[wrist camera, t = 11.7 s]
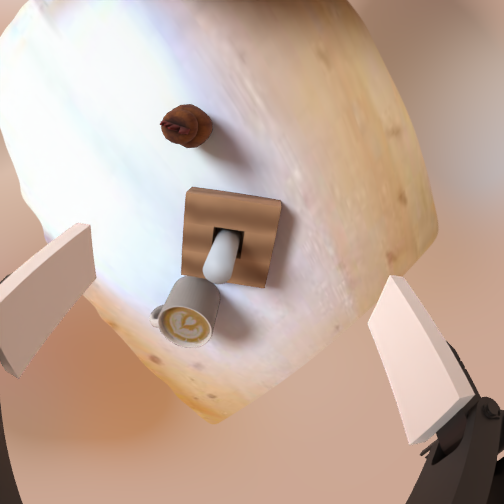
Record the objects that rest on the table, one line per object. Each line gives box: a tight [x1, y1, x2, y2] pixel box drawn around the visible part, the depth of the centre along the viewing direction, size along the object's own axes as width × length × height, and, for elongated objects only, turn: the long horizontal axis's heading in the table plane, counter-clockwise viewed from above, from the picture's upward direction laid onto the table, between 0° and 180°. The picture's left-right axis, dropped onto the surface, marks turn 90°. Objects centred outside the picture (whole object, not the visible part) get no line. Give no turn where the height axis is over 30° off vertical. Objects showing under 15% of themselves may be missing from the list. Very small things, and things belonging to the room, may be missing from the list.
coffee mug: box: [150, 276, 220, 348], centre depth 51 cm, size 13×10×10 cm
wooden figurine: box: [160, 104, 212, 148], centre depth 35 cm, size 7×6×15 cm
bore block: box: [181, 187, 281, 288], centre depth 48 cm, size 15×15×4 cm
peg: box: [203, 228, 241, 284], centre depth 43 cm, size 4×4×12 cm
